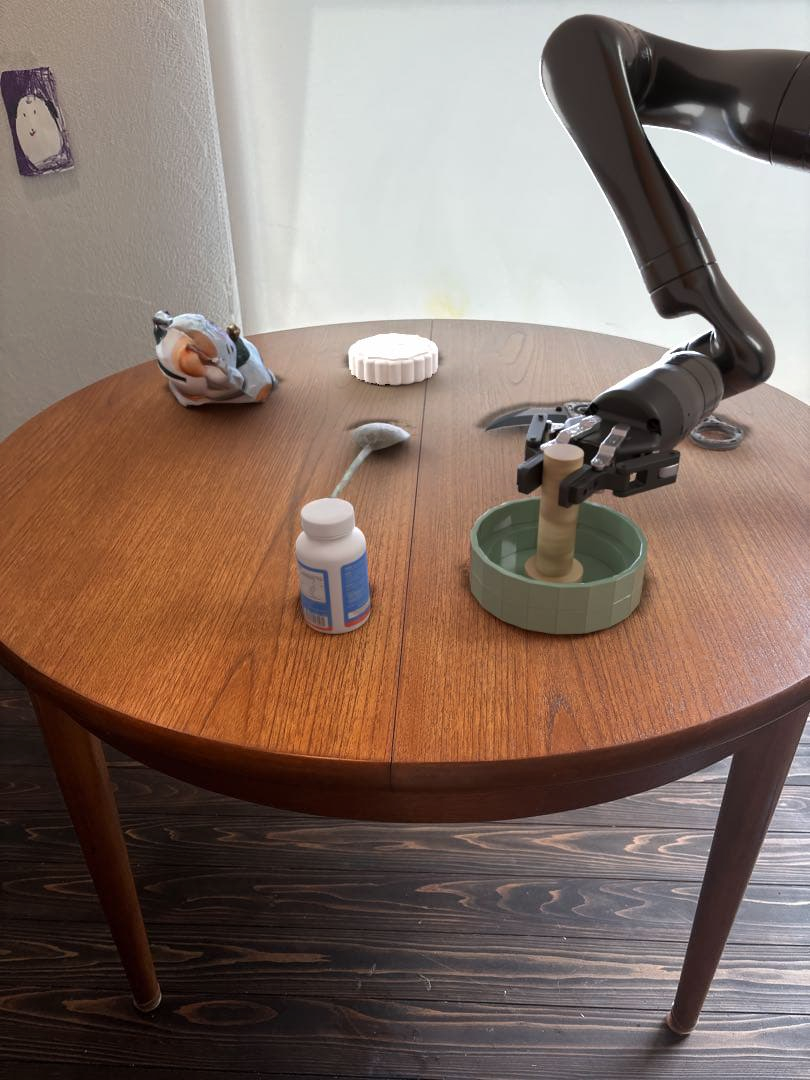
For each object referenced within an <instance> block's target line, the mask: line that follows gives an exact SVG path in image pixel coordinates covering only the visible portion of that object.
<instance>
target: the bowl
mask: <svg viewBox="0 0 810 1080" xmlns="http://www.w3.org/2000/svg"><path fill="white" fill-rule="evenodd" d="M540 500H541V496H529V497H525V498H524V497H523V498H520V499H515V500H509V501H506V502H503V503H502V504H499V505H497V506H495V507H494V506H493V507H492V508H489V509H488V510H486V511H485V513H483V514H482V515H481V516H480V517H478V518H477V519H476V520H475V522H474V524H473V527H472V529H471V531H470V532H469V568H468V573H469V574H468V578H469V579H468V580H469V586H470V592H471V595H473V596H474V598H475V599H476V600H477V602H478V603H479V605H480V606H481V607H482V609H484V610H485V611H487V612H488V613H490V614H491V615H493V616H495V617H496V618H497V619H498V620H500V621H501V622H505V623H507V624H510V625H512V626H515V627H518V628H520V629H523V630H526V631H532V632H539V633H545V634H551V635H582V634H589V633H593V632H597V631H602V630H606V629H609V628H611V627H613V626H615V625H617V624H618V623H620V622H622V621H624V620H626V619H628V618H629V617H630V616H631V614H632V613H633V612H634V610H635V609H636V608H637V607H638V605H639V604H640V602H641V597H642V590H643V583H644V576H645V571H646V562H647V555H648V548H649V542H648V540H647V538H646V536H645V534H644V532H643V530H642V528H641V527H640V526H638V525H637V523H635V522H634V521H633V520H632V519H631V518H629V517H628V516H627V515H625V514H623V513H621V512H619V511H616V510H615V509H613V508H611V507H609V506H606V505H603V504H601V503H600V504H599V503H596V502H593V501H589V500H587V499H586V500H585V501H584V502H582V503H580V504H579V508H578V518H577V528H576V538H575V548H574V558H575V559H576V560H578V561H579V562H580V563H581V565H582V567H583V580H582V583H569V584H557V583H551V582H544V581H537V580H531V579H528V578H525V577H524V567H525V563H526V561H527V560H528V559H529V558H530V557H532V556H534V555H536V554H537V540H538V527H539V513H540Z"/></svg>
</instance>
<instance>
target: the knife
mask: <svg viewBox="0 0 810 1080" xmlns="http://www.w3.org/2000/svg"><path fill="white" fill-rule="evenodd" d="M590 404H591V402H587V401H586V402H585V401H577V400H575V401H570V402H569V401H568V402H565V403H564V404H563V406H560V405H558V406H556V407H552V408H549V407H547V408H545V407H543V408H540V407H527V408H523V409H519V410H516V411H512V412H509V413H506V414H504V415H502V416H500V417H497V419H495V420H492V422H491V423H489V424H488V425H487V426H486V427H485V429H484V430H483V432H484V433H485V432H490V431H496V430H500V429H505V428H513V427H522V426H530V425H531V422H532V419H533V416H534V415H535V414H538V413H543V414H546V415H548V421H551V422H552V423H556V424H564V423H565V422H566V421H567V420H568V419H570V418H574V417H579V416H582V415H583V413H584V412H585V411H586V409H587V408H588V406H589V405H590ZM702 432H719V433H723V434H726V435H728V436H730V437H731V438H728V439H715V438H714V439H712V438H709V437H707V436H703V434H701V433H702ZM744 435H745V434H744V431H743V430H742V429H741V428H738V427H736V426H733V425H731V424H729V423H727V422H725V421H723V420H722V419H721V418H720V417H717V416H714V415H712V414H711V415H710V416H709V417H708V418H706V419H705V420H704V421H703V422H702V423H700V424H699V425H698V426H697V427H695V428H694V429H693V430H692V432H691V433H690V434H689V435H688V437H689V439H690V441H691V442H692V443H693V444H695V445H696V446H698V447H700V448H703V449H707V450H712V451H728V450H733V449H736V448H739V447H740V446H741V445H742V444H743V440H744Z"/></svg>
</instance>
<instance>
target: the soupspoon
mask: <svg viewBox="0 0 810 1080" xmlns="http://www.w3.org/2000/svg"><path fill="white" fill-rule="evenodd" d="M350 438H351V439H352V440H353V442H355V444H356V445H358V446H359V447H360V448H361V449H362V450H361V451H360V452H359V453H358V455H356V457H355V458H354V460H353V461H352V463H351V464H350V466H348V469H347V470H346V471H345V474H344V475H343V476H342V478H341V480H340V481H339V483H338V484H337V485H336V487H335V488H334V490H333V492H332V493H331V494H330V495H328V496H327V497H326V498H336V499H338V497H339V495H340V494H342V491H343V490H344V489H345V487H346V486H347V484H348V483H349V482H350V480H351V479H352V477H353V476H354V474H355V473H356V472H357V470H358V469H359V468H360V466H361V464H362V463H363V462H364V461H366V459H367V457H369V455H370V454H371V453H372V452H374V451H378V450H383V449H385V448H389V447H391V446H394V445H397V444H399V443H402V442H404V441H406V440H408V439H409V438H411V434H410V433H409V432H407V431H406V430H404V429H402V428H401V427H398V426H395V425H393V424H389V423H384V422H371V423H367V424H363V425H361V426H358V427H357V428H355V429H353V430H352V431H351V432H350Z"/></svg>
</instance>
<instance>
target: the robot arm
mask: <svg viewBox="0 0 810 1080" xmlns="http://www.w3.org/2000/svg"><path fill="white" fill-rule="evenodd" d="M539 80H540V86H541V89H542V92H543V94H544V97H545V99H546V101H547V102H548V104H549V106H550V108H551V110H552V111H553V113H554V115H555V116H556V117H557V119H558V121H559V122H560V124H561V125H562V127H563V128H564V130H565V132H566V133H567V134H568V136H569V138H570V139H571V140H572V142H573V144H574V146H575V147H576V149H577V150H578V152H579V153H580V156H581V157H582V158H583V161H584V162H585V164H586V166H587V167H588V169H589V171H590V172H591V174H592V176H593V178H594V180H595V181H596V184H597V185H598V187H599V189H600V191H601V193H602V194H603V196H604V199H605V200H606V202H607V204H608V207H610V210H611V212H612V214H613V215H614V218H615V220H616V222H617V224H618V226H619V228H620V230H621V232H622V235H623V236H624V239H625V242H626V245H627V247H628V248H629V251H630V253H631V255H632V258H633V260H634V263H635V265H636V268H637V271H638V272H639V274H640V278H641V279H642V282H643V284H644V287H645V289H646V292H647V294H648V295H649V299H650V301H651V304H652V305H653V308H654V309H655V312H656V313H657V314H658V316H659V317H661V318H662V319H664V320H676V319H679V318H683V317H686V316H690V315H698V316H700V317H702V318H703V319H705V320H706V321H707V322H708V324H710V325H711V326H712V328H711V329H709V330H707V331H705V332H703V333H701V334H698V335H697V336H694V337H692V338H690V339H688V340H686V341H683V342H682V343H680V344H678V345H676V346H674V347H673V348H671V349H669V350H668V351H667V352H665V353H664V354H663V356H662V357H661V358H660V360H658V361H656V362H655V363H654V364H652V365H650V366H648V367H646V368H643V369H640V370H637V371H635V372H634V373H632V374H631V375H629V376H627V377H626V378H624V379H622V380H620V381H619V382H618V383H616V384H615V385H613V386H611V387H610V388H608V389H607V390H605V391H604V392H602V393H600V394H599V395H597V396H596V397H595V398H593V400H592V401H591V402H590V403H591V404H590V405H589V406H588V408H587V409H586V411H585V412H584V413H583V415H582V416H579V417H574V418H570V419H568V420H567V421H566V422H565V423H564V424H556V423H552V422H551V421H548V415H546V414H543V413H538V414H535V415H534V416H533V419H532V422H531V425H529V428H528V431H527V433H526V437H525V443H524V445H525V446H524V459H523V460H524V461H523V462H522V463H520V464H519V465H518V466H517V469H516V486H517V492H518V493H520V494H523V495H526V496H528V495H530V494H531V493H533V492H534V491H535V490H537V489H538V488H540V487H541V486H542V473H543V459H544V450H545V448H546V447H548V446H550V445H554V444H570V445H574V446H577V447H579V448H581V449H582V450H583V452H584V458H583V466H582V467H581V468H579V469H577V470H575V471H574V472H573V473H571V474H570V475H569V476H567V477H566V478H564V479H563V480H562V481H561V483H560V486H559V496H558V505H559V506H561V507H564V508H567V509H568V508H570V507H571V506H572V505H573V504H575V505H577V504H580V503H582V502H584V501H585V500H586V501H587V500H588V499H589V498H590V497H591V496H593V495H600V494H603V493H604V492H605V490H607V491H612V495H613V496H614V497H616V498H620V499H621V498H627V497H632V496H635V495H638V494H641V493H645V492H649V491H652V490H655V489H658V488H662V487H665V486H669V485H673V484H675V483H676V482H677V477H678V474H679V469H680V460H681V454H682V453H681V451H680V450H677V449H675V448H677V447H678V446H679V445H680V444H681V443H683V441H684V440H686V439H687V438H688V437H689V434H690V433H691V432H692V430H693V429H694V428H695V427H697V426H698V425H699V424H700V423H702V422H703V421H704V420H705V419H706V418H708V417H709V416H710V415H711V416H712V414H713V413H714V412H715V410H716V409H717V408H718V406H719V405H720V403H721V402H722V401H724V400H728V399H730V398H732V397H734V396H737V395H739V394H742V393H744V392H747V391H750V390H753V389H755V388H757V387H759V386H761V385H763V384H765V383H766V382H767V381H768V380H769V379H770V378H771V377H772V374H773V373H774V371H775V367H776V349H775V345H774V343H773V340H772V338H771V337H770V335H769V333H768V331H767V330H766V329H765V327H764V326H763V325H762V323H760V321H759V320H758V318H757V317H756V316H755V315H754V314H753V313H752V312H751V311H750V310H749V308H748V307H747V306H746V305H745V303H744V302H743V301H742V300H741V298H740V297H739V296H738V294H737V293H736V292H735V291H734V289H733V288H732V286H731V285H730V283H729V282H728V281H727V279H726V278H725V276H724V274H723V273H722V270H721V267H720V265H719V263H718V262H717V258H716V255H715V254H714V251H713V249H712V245H711V244H710V241H709V239H708V237H707V235H706V232H705V230H704V227H703V226H702V223H701V221H700V219H699V217H698V215H697V214H696V211H695V210H694V208H693V206H692V205H691V203H690V201H689V199H688V198H687V196H686V195H685V194H684V192H683V191H682V189H681V188H680V186H679V184H678V183H677V182H676V180H675V179H674V178H673V177H672V175H671V174H670V172H669V170H668V169H667V168H666V166H665V165H664V163H663V162H662V160H661V158H660V157H659V155H658V154H657V152H656V150H655V148H654V147H653V145H652V143H651V141H650V139H649V136H648V135H647V132H646V131H645V128H644V127H651V128H657V129H666V130H673V131H679V132H683V133H687V134H690V135H692V136H696V137H698V138H701V139H702V140H705V141H707V142H710V143H712V144H713V145H716V146H717V147H720V148H722V149H725V150H727V151H730V152H732V153H734V154H737V155H740V156H743V157H745V158H748V159H751V160H754V161H758V162H760V163H764V164H768V165H771V166H775V167H780V168H785V169H788V170H793V171H797V172H801V173H807V174H810V51H807V50H797V49H786V48H782V49H781V48H747V49H746V48H744V49H742V48H741V49H713V48H705V47H700V46H696V45H692V44H688V43H685V42H681V41H678V40H674V39H671V38H667V37H664V36H660V35H658V34H654V33H652V32H650V31H647V30H644V29H641V28H639V27H637V26H635V25H633V24H630V23H628V22H624V21H622V20H619V19H616V18H612V17H608V16H606V15H601V14H594V13H593V14H592V13H583V14H577V15H574V16H571V17H569V18H566V19H565V20H563V21H562V22H561V23H560V24H559V25H557V27H555V28H554V30H553V31H552V32H551V34H550V35H549V36H548V38H547V39H546V42H545V44H544V46H543V47H542V52H541V55H540V60H539ZM632 474H635V478H634V479H633V480H631V475H632Z"/></svg>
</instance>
